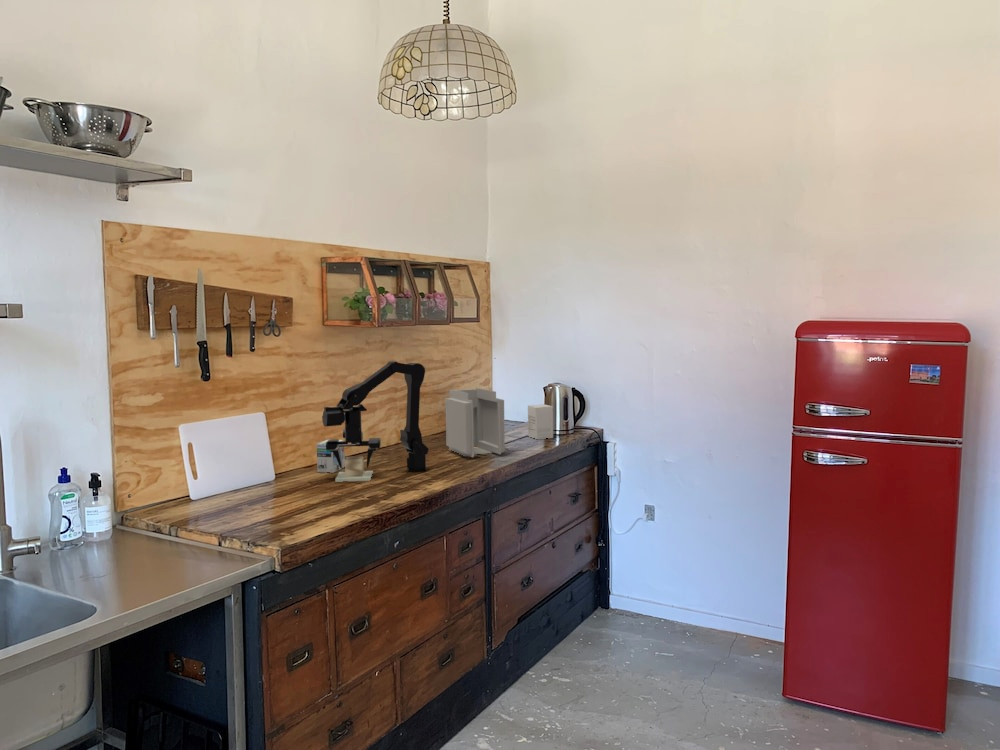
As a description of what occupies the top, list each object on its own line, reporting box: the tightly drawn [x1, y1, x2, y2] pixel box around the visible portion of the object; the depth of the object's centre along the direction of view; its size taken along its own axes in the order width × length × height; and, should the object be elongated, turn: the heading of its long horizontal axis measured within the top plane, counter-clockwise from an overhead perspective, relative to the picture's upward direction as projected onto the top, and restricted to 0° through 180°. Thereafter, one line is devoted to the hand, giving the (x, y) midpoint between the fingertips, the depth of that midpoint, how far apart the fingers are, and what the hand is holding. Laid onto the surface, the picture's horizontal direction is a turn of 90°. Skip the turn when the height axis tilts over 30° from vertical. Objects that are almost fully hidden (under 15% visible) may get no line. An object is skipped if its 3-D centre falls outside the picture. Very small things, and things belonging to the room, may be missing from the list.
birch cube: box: [344, 455, 365, 477], centre depth 260 cm, size 6×6×6 cm
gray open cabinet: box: [445, 387, 506, 458], centre depth 304 cm, size 17×27×26 cm, turn 26°
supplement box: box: [527, 404, 554, 440], centre depth 340 cm, size 9×9×15 cm
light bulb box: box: [316, 438, 346, 474], centre depth 274 cm, size 11×7×11 cm, turn 168°
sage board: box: [334, 470, 374, 483], centre depth 261 cm, size 12×12×1 cm
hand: (354, 467), depth 261 cm, fingers open, 9 cm apart
